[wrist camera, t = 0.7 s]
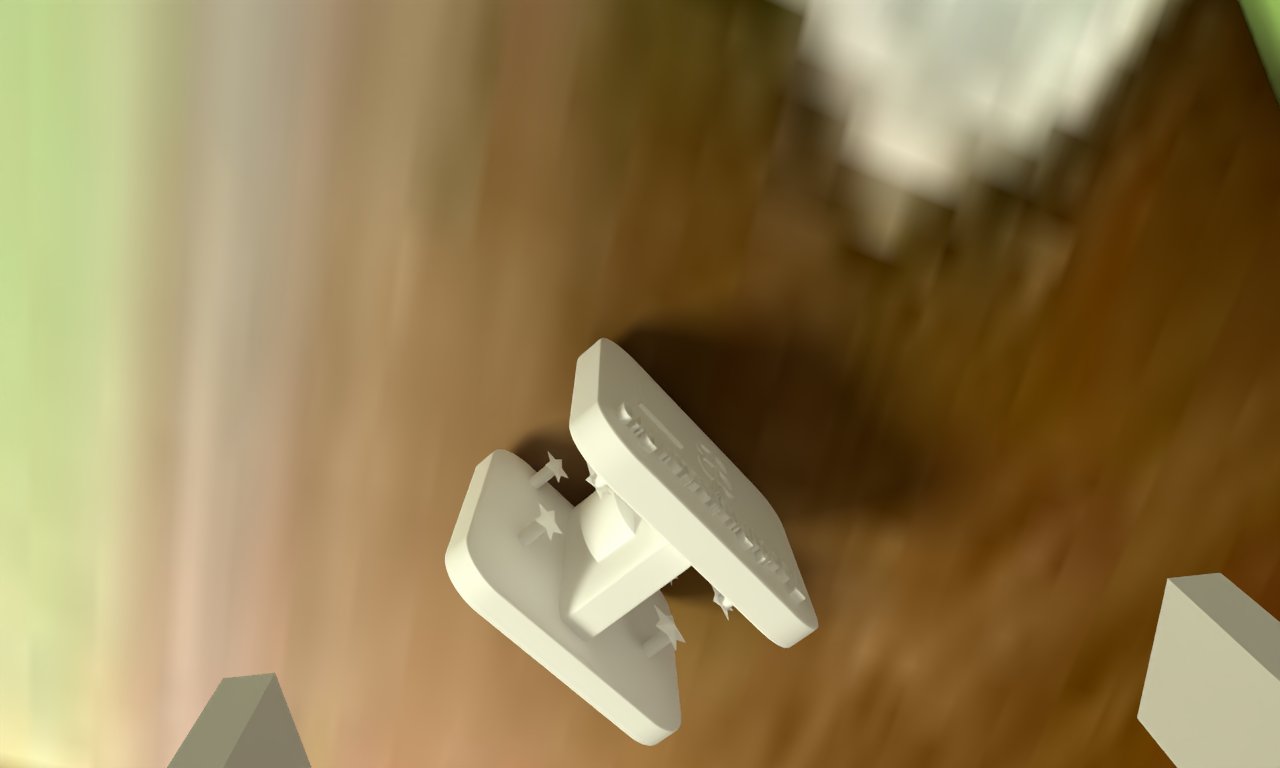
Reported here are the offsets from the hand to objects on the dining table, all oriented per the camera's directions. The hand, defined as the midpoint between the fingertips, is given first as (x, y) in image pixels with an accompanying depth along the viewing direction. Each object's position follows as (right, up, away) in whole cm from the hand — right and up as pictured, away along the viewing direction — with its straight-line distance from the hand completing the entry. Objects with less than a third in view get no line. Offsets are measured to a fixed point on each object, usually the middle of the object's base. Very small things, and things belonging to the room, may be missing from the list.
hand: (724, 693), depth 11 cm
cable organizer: (-2, 0, +31) cm, 31 cm away
